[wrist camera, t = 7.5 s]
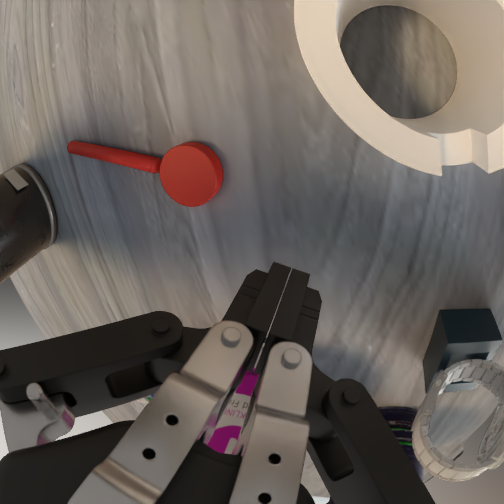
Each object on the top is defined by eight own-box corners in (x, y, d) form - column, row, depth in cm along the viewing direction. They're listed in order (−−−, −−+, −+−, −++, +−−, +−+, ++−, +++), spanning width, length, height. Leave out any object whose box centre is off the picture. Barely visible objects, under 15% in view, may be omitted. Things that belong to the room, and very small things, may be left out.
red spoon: (74, 166, 20) (65, 171, 19) (73, 121, 18) (64, 124, 17) (218, 208, 18) (212, 214, 17) (228, 149, 16) (221, 152, 15)
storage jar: (445, 413, 22) (434, 573, 8) (395, 448, 28) (373, 574, 13) (367, 398, 23) (331, 583, 9) (326, 435, 29) (287, 572, 14)
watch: (486, 358, 17) (505, 476, 9) (402, 362, 20) (398, 493, 11) (510, 306, 15) (553, 438, 6) (416, 309, 17) (429, 466, 8)
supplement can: (225, 323, 23) (134, 493, 11) (324, 355, 22) (276, 543, 10) (217, 375, 28) (152, 505, 16) (296, 401, 27) (251, 540, 14)
